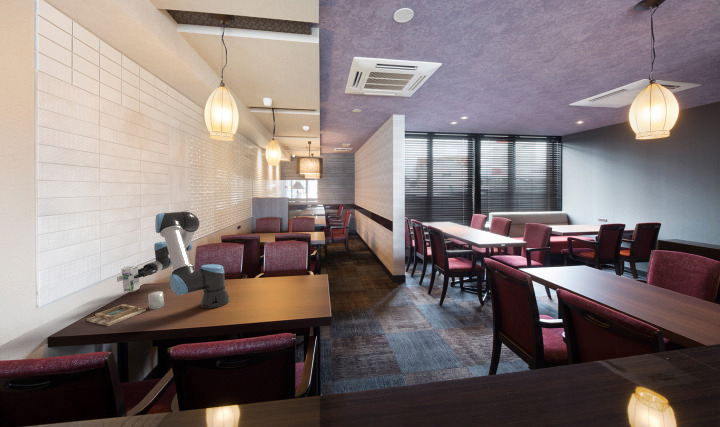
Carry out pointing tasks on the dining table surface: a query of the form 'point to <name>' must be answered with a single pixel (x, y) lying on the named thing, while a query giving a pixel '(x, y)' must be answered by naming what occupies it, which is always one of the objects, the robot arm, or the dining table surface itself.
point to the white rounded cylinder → (156, 300)
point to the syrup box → (130, 285)
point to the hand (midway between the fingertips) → (123, 279)
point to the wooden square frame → (115, 314)
